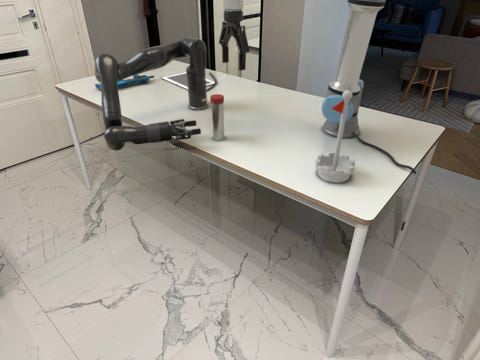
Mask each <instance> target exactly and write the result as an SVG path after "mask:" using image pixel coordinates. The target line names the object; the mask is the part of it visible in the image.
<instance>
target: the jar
mask: <svg viewBox="0 0 480 360" xmlns="http://www.w3.org/2000/svg"><path fill="white" fill-rule="evenodd" d="M210 104H211V106H210V107H211V124H212V127H211V128H212V139H213V140H214V141H217V142H218V141H223V140H224V139H225V116H224V115H225V113H224V112H225V109H224V102H223V103H220V104H213V103H211V102H210Z"/></svg>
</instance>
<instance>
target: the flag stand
mask: <svg viewBox="0 0 480 360" xmlns="http://www.w3.org/2000/svg"><path fill="white" fill-rule="evenodd" d="M342 97H343V99H344V100H343V101H342V102H340V103H339V104H337V105H336V106H334V107H333V108H331V109H333V110H335V111H337V112H339V113H342V114H341V120H340V126H339V132H338V137H336V143H335V144H336V145H335V149H334V151H328V152H327V154H325V153H322V152H321V153H320V154H318V155H317V158H316V160H315V168H316V169H317V175H318V177H319V178H321V179H322V180H324V181H326V182H329V183H344V182H346V181H348V180H349V179H350V177H351V175H352V174H353V173H354V172H355V167H356V161H355V159H354V158H353V159H352V158H351V159H350V155H348V154H346V153H342V154H341V155H340V152H341V147H342V141H343V138H342V136H343V131H344V125H345V120H346V114H347V109H348V103H349V99H351V98H352V92H351V91H349V90H346V91H344V92H343V95H342Z"/></svg>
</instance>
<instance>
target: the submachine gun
mask: <svg viewBox="0 0 480 360" xmlns="http://www.w3.org/2000/svg"><path fill="white" fill-rule="evenodd" d="M153 78H155V75H147V74H143V75H140V74H137V75H134V76H132V78H125V79H123V80H121V81H118V89H119V88H123V87H127V86H132V85H136V84H137V85H138V84H140V83H147V82H148V81H150V79H153ZM94 86H95V88H97V90H99V91H101V83H94Z"/></svg>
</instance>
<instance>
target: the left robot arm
mask: <svg viewBox="0 0 480 360" xmlns="http://www.w3.org/2000/svg"><path fill="white" fill-rule="evenodd" d="M182 58H189V65H188V66H186V68H185V72H186V74H187V85H188V90H187V94H188V108H189V109H190V110H194V111H199V110H205V109H207V108H208V93H207V91H209V90H211V89H213V88H214V87H215V85H216V83H217V79H216V77H215V76H214V75H213V74H212V73H211V72H209V74H210V75H211V77H212V78H213V80H214V82H215V84H213V85H210V86H209V88H207V86H206V79H207V76H206V74H207V73H206V69H207V65H208V61H207V60H208V59H207V58H208V55H207V45H206V43H205V42H204V40H202V39H201V38H197V37H194V36H188V37H185V38H182V39H179V40H177V41H174V42H171V43H166V44H161V45H155V46H152V47H147V48H144V49H141V50H139V51H138V52H136V53H134V54H133V55H131V56H130V57H129V58H128V59H126V60H124V61H121V62H118V60H117V58H116V57H115V56H113V55H112V54H110V53H101V54H99V55H97V57H96V58H95V60H94V77H95V79H96V80H97V82H99V84H101V90H100V91H101V93H100V94H101V113H102V121H103V125H104V127H105V129H104V132H103V139H104V141H105V143H106V146H107V147H108V148H109V149H110V150H111V151H120V150H122V149H123V148H124V147H125V145H126V143H132V144H134V145H143V144H144V145H145V144H156V143H162V142H169V141H172V139H173V137H175V141H181V140H190V139H192V136H196V135H197V136H198V135H201V134H202V129H201V128H193V129H188V128H189V127H197V121H196V120H195V119H193V120H185V119H184V118H183V119H175V120H170V121H161V122H153V123H148V124H145V125H143V124H142V125H136V126H130V125H123V116H122V115H123V114H122V108H121V107H122V106H121V101H120V100H121V99H120V93H119V88H118V81H121V80H126V79H129V78H130V77H133V76H134V75H140V74H143V73H147V72H151V71H155V70H158V69H161V68H164V67H166V66H167V65H169V64H170V63H171V62H173V61H174V60H178V59H182ZM187 127H188V128H187Z"/></svg>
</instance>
